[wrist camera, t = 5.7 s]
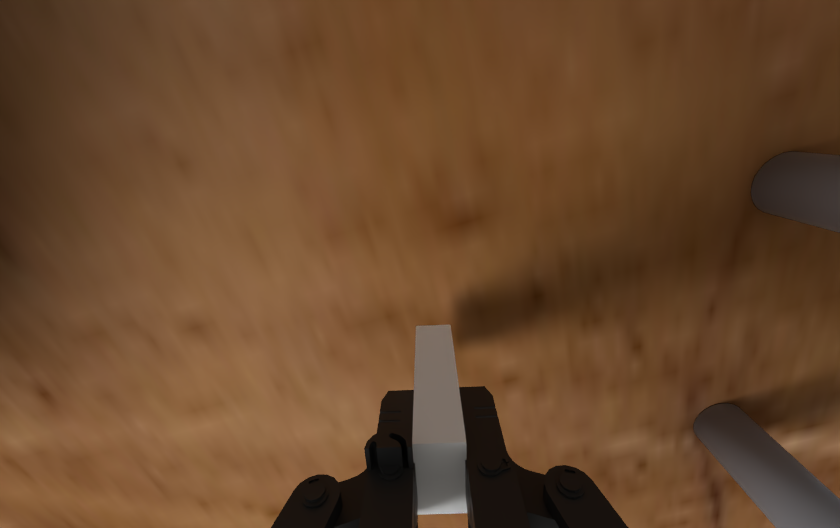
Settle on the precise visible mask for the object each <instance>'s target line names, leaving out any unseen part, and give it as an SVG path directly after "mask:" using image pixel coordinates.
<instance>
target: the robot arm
mask: <svg viewBox="0 0 840 528" xmlns="http://www.w3.org/2000/svg"><path fill="white" fill-rule="evenodd" d="M364 449H365V457H366V464H367V469H366V470H365V471H364V472H362V473H361V474H359V475H358V476H356V477H353V478H351V479H348V480H345V481H342V482H339V483H338V482H337V481H336V479H335V478H334V477H331V476H329V475H315V476H312V477H309V478H307V479H306V480H304V481H303V482H301V483H300V484H299V485H298V486H297V487H296V489H295V490H294V491H293V493H292V494H291V496H290V498H289V499H288V501H287V502H286V504H285V506H284V507H283V509H282V511H281V512H280V514H279V516H278V517H277V519H276V520H275V522H274V524H273V525H272V527H271V528H418V522H417V519H418V515H419V514H452V513H468V528H628V527H627V526H626V524H625V523H624V522H623V520H622V519H621V518H620V516H619V515H618V514H617V512H616V511H615V510H614V508H613V507H612V506H611V504H610V503H609V502H608V500H607V499H606V498H605V496H604V495H603V494H602V493H601V491H600V490H599V489H598V487H597V486H596V485H595V483H594V482H593V481H592V480H591V479H590V478H589V477H588V476H587V475H586V474H585V473H584V472H582V471H580V470H579V469H577V468H574V467H570V466H566V465H563V466H555V467H553V468H551V469H549V470H548V472H547V473H546V474H545V475H544V474H540V473H536V472H532V471H529V470H526V469H524V468H522V467H520V466H518V465H517V464H516V463H515V462H514V461H512V459H511V458H510V457H509V455H508V453H507V451H506V447H505V443H504V439H503V435H502V431H501V427H500V423H499V419H498V416H497V411H496V409H495V404H494V400H493V396H492V394H491V393H490V392H489V391H488V390H487V389H486V388H485V386H482V387H459V384H458V376H457V369H456V361H455V354H454V347H453V339H452V332H451V325H430V326H416V343H415V373H414V390H402V391H388V393H387V394H386V395H385V397H384V398H383V400H382V402H381V409H380V415H379V423H378V429H377V434H375V435H373V436H372V437H371V438H370V439H369V440H368V441H367V443H366V446H365V448H364Z"/></svg>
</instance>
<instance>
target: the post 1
mask: <svg viewBox="0 0 840 528" xmlns="http://www.w3.org/2000/svg"><path fill="white" fill-rule="evenodd" d="M751 197H752V200H753V203H754V204H755V206H756V207H757V208H758V209H759V210H761V211H763V212H765V213H769V214H772V215H776V216H780V217H783V218H787V219H791V220H795V221H798V222H802V223H806V224H809V225H813V226H817V227H820V228H824V229H828V230H831V231H835V232H839V233H840V155H830V154H819V153H807V152H786V153H782V154H779V155H777V156H775V157H774V158H772V159H770V160H769V161H768V162H766V163H765V164H764V165H763V166H762V167H761V169H760V170H759V171H758V173H757V174H756V176H755V178H754V180H753V183H752V187H751Z"/></svg>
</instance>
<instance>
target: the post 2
mask: <svg viewBox="0 0 840 528" xmlns="http://www.w3.org/2000/svg"><path fill="white" fill-rule="evenodd" d="M694 432H695V434H696V436H697V437H698V438H699V439H700V440H701V442H702V443H703V444H704V445H705V446H706V447H707V448H708V450H709V451H710V452H711V453H712V454H713V455H714V457H715V458H716V459H717V460H718V461H719V462H720V464H721V465H722V466H723V467H724V468H725V469H726V470H727V472H728V473H729V474H730V475H731V476H732V477H733V479H734V480H735V481H736V482H737V483H738V484H739V485H740V487H741V488H742V489H743V490H744V491H745V492H746V494H747V495H748V496H749V497H750V498H751V499H752V500H753V502H754V503H755V504H756V505H757V506H758V507H759V509H760V510H761V511H762V512H763V513H764V514H765V515H766V517H767V518H768V519H769V520H770V521H771V522H772V524H773V525H774V526H775V527H776V528H840V499H839V498H838V497H837V496H836V495H835V494H833V493H832V492H831V491H830V490H829V489H828V488H827V487H826V486H825V485H824V484H822V483H821V482H820V481H819V480H818V479H817V478H816V477H815V476H814V475H813V474H811V473H810V472H809V471H808V470H807V469H806V468H805V467H804V466H803V465H802V464H801V463H799V462H798V461H797V460H796V459H795V458H794V457H793V456H792V455H791V454H790V453H788V452H787V451H786V450H785V449H784V448H783V447H782V446H781V445H780V444H779V443H777V442H776V441H775V440H774V439H773V438H772V437H771V436H770V435H769V434H768V433H766V432H765V431H764V430H763V429H762V428H761V427H760V426H759V425H758V424H757V423H755V422H754V421H753V420H752V419H751V418H750V417H749V416H748V415H747V414H746V413H744V412H743V411H742V410H741V409H740V408H739V407H737V406H736V405H733V404H728V403H722V404H716V405H713V406H711V407H709V408H707V409H705V410H704V411H703V412H701V413H700V414H699V415H698V417H697V418H696V420H695V422H694Z"/></svg>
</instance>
